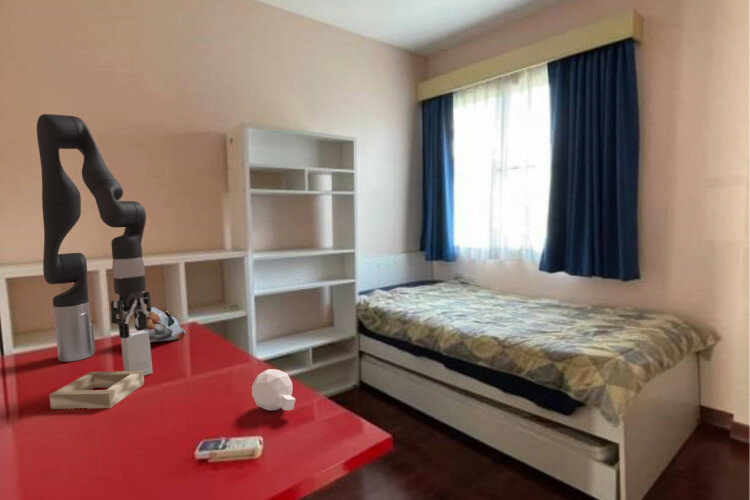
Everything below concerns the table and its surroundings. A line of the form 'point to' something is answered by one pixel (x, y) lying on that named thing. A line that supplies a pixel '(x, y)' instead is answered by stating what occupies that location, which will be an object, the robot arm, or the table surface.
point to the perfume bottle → (273, 390)
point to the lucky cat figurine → (161, 326)
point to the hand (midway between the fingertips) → (134, 333)
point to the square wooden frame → (85, 397)
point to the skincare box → (137, 352)
